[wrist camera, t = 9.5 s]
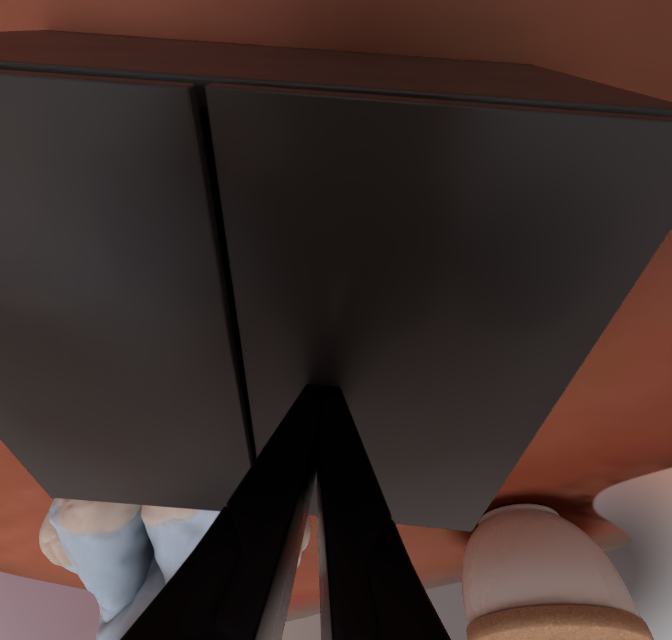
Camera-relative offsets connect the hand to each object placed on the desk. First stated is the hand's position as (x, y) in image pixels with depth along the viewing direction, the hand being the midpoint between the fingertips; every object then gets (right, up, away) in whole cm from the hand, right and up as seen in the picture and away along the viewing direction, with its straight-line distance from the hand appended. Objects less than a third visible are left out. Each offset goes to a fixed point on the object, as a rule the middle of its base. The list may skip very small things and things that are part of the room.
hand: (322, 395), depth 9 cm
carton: (-2, +5, +6) cm, 8 cm away
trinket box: (+15, -14, +21) cm, 29 cm away
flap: (+2, 0, 0) cm, 2 cm away
